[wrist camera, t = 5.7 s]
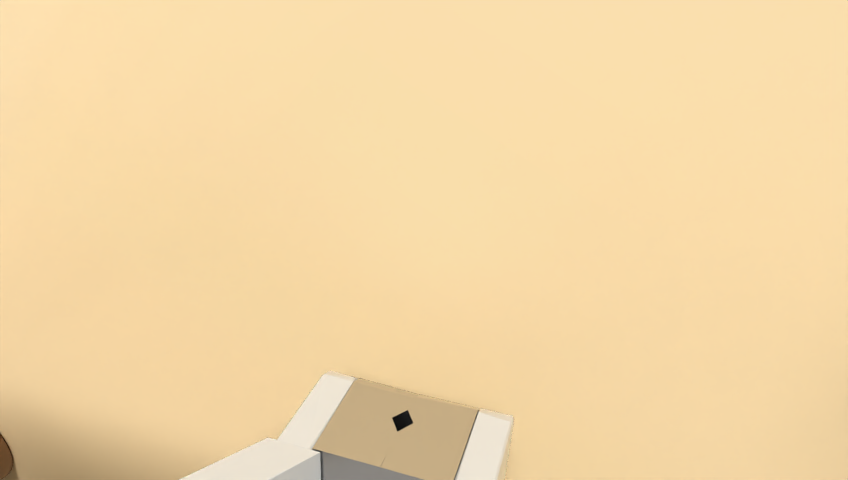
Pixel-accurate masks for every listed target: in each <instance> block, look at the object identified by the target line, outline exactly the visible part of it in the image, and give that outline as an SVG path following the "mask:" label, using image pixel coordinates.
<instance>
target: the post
mask: <svg viewBox="0 0 848 480" xmlns="http://www.w3.org/2000/svg"><path fill="white" fill-rule="evenodd" d="M11 469H12V456H11V453H10V451H9V448H8V446H7V444H6V443H5V441H4V440H3V438H2V437H1V435H0V480H2V479H3V478H4V477H5V476H6V475H7V474H8V473H9V472H10V471H11Z"/></svg>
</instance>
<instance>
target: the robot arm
mask: <svg viewBox="0 0 848 480" xmlns="http://www.w3.org/2000/svg"><path fill="white" fill-rule="evenodd" d="M513 425H514V417H513V416H512V415H508V414H503V413H499V412H494V411H490V410H486V409H479V408H475V407H471V406H467V405H463V404H459V403H454V402H450V401H446V400H442V399H438V398H434V397H429V396H425V395H421V394H416V393H413V392H409V391H405V390H402V389H398V388H394V387H391V386H387V385H383V384H380V383H376V382H373V381H369V380H365V379H362V378H355V377H351V376H348V375H344V374H341V373H337V372H334V371H328V372H327V373H325V374H323V375H322V376H321V378H320V379H319V380H318V382H317V383H316V385H315V386H314V388H313V389H312V390H311V392H310V393H309V395H308V396H307V397H306V399H305V400H304V402H303V403H302V405H301V406H300V407H299V409H298V410H297V412H296V413H295V414H294V416H293V417H292V419H291V420H290V422H289V423H288V424H287V426H286V427H285V429H284V430H283V431H282V433H281V434H280V436H279V437H278V439H277V440H275V439H271V438H266V439H264V440H262V441H260V442H257V443H255V444H253V445H251V446H249V447H247V448H245V449H243V450H240V451H238V452H236V453H234V454H232V455H230V456H228V457H226V458H224V459H221V460H219V461H217V462H215V463H213V464H211V465H209V466H207V467H205V468H202V469H200V470H198V471H196V472H194V473H192V474H190V475H188V476H185V477H183V478H181V479H179V480H505V476H506V470H507V463H508V457H509V450H510V444H511V437H512V431H513Z"/></svg>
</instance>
